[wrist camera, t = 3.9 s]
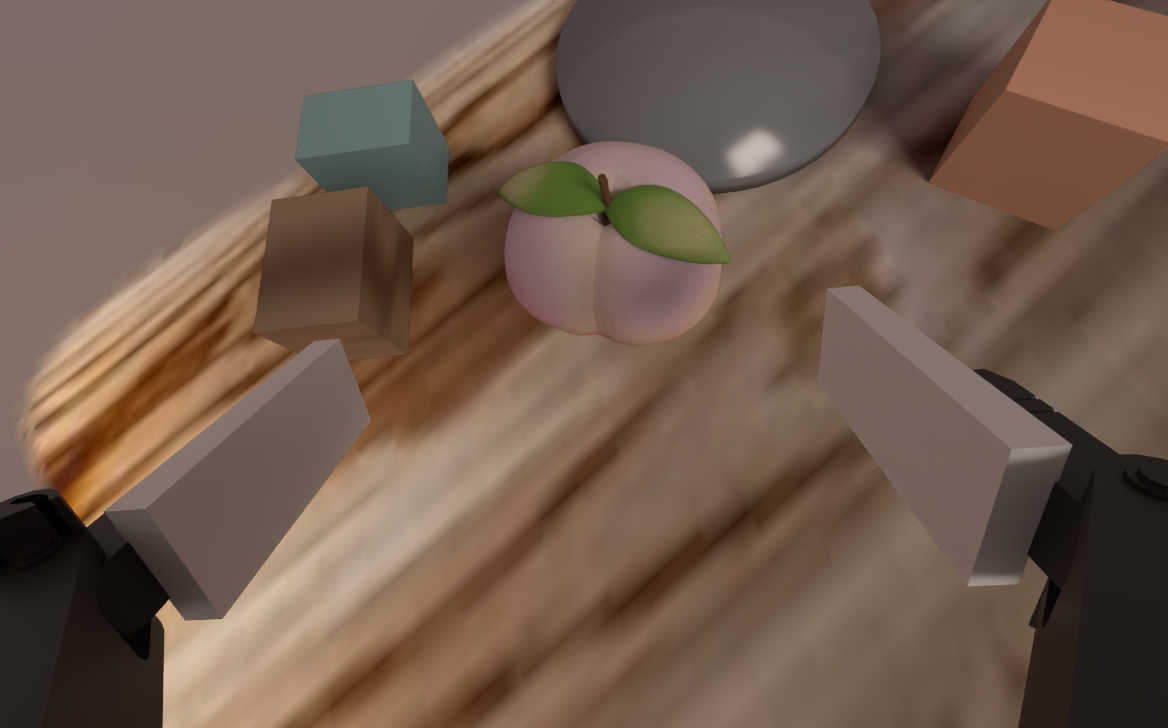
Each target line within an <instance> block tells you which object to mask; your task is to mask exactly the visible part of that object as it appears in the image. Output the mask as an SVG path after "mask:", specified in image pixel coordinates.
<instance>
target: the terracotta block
mask: <svg viewBox="0 0 1168 728" xmlns="http://www.w3.org/2000/svg"><path fill="white" fill-rule="evenodd" d="M1166 150H1168V16H1166V15H1162V14H1158V13H1155V12H1151V11H1147V10H1143V9H1140V8H1136V7H1132V6H1128V5H1125V4H1121V3H1117V2H1113V1H1110V0H1048V1H1047V2H1046V4H1045V5H1044V6H1043V8H1042V9H1041V10H1040V12H1039V13H1038V14H1037V15H1036V17H1035V18H1034V19H1033V21H1032V22H1031V23H1030V25H1029V26H1028V27H1027V28H1026V30H1025V31H1024V32H1023V34H1022V35H1021V36H1020V37H1019V39H1018V40H1017V41H1016V43H1015V44H1014V45H1013V47H1012V48H1011V49H1010V50H1009V52H1008V53H1007V54H1006V56H1005V57H1004V58H1003V60H1002V61H1001V62H1000V63H999V65H998V66H997V67H996V69H995V70H994V71H993V72H992V74H991V75H990V76H989V78H988V79H987V80H986V82H985V83H984V84H983V85H982V87H981V88H980V89H979V91H978V92H977V93H976V95H975V96H974V97H973V99H972V101H971V103H970V105H969V107H968V108H967V110H966V112H965V114H964V116H963V118H962V120H961V122H960V124H959V125H958V127H957V129H956V131H955V133H954V135H953V137H952V139H951V140H950V142H949V144H948V146H947V148H946V150H945V152H944V154H943V156H942V157H941V159H940V161H939V163H938V165H937V167H936V169H935V171H934V172H933V174H932V176H931V178H930V180H929V182H928V183H931V184H933V185H936V186H939V187H941V188H944V189H947V190H949V191H952V192H954V193H957V194H960V195H962V196H965V197H968V198H970V199H973V200H975V201H978V202H981V203H983V204H986V205H989V206H991V207H994V208H996V209H999V210H1002V211H1004V212H1007V213H1010V214H1012V215H1015V216H1017V217H1020V218H1023V219H1025V220H1028V221H1031V222H1033V223H1036V224H1038V225H1041V226H1044V227H1046V228H1049V229H1052V230H1055V229H1056V228H1058V227H1059V226H1061V225H1062V224H1064V223H1065V222H1066V221H1068V220H1069V219H1071V218H1072V217H1073V216H1075V215H1076V214H1078V213H1079V212H1080V211H1082V210H1083V209H1085V208H1086V207H1087V206H1089V205H1090V204H1092V203H1093V202H1095V201H1096V200H1097V199H1099V198H1100V197H1102V196H1103V195H1104V194H1106V193H1107V192H1109V191H1110V190H1111V189H1113V188H1114V187H1116V186H1117V185H1118V184H1120V183H1121V182H1123V181H1124V180H1126V179H1127V178H1128V177H1130V176H1131V175H1133V174H1134V173H1135V172H1137V171H1138V170H1140V169H1141V168H1142V167H1144V166H1145V165H1147V164H1148V163H1149V162H1151V161H1152V160H1154V159H1155V158H1157V157H1158V156H1159V155H1161V154H1162V153H1164V152H1165V151H1166Z"/></svg>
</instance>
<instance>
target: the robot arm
mask: <svg viewBox="0 0 1168 728" xmlns="http://www.w3.org/2000/svg"><path fill="white" fill-rule="evenodd" d="M818 384H819V385H820V386H821V388H822V389H823V390H824V392H825V393H826V394H827V396H828V397H829V399H830V400H831V401H832V403H833V404H834V405H835V407H836V408H837V409H838V411H839V412H840V413H841V415H842V416H843V418H844V419H845V420H846V422H847V423H848V424H849V426H850V427H851V428H852V430H853V431H854V433H855V434H856V435H857V437H858V438H859V439H860V441H861V442H862V443H863V445H864V446H865V448H866V449H867V450H868V452H869V453H870V454H871V456H872V457H873V458H874V460H875V461H876V463H877V464H878V465H879V467H880V468H881V469H882V471H883V472H884V473H885V475H886V476H887V477H888V479H889V480H890V482H891V483H892V484H893V486H894V487H895V488H896V490H897V491H898V492H899V494H900V495H901V497H902V498H903V499H904V501H905V502H906V503H907V505H908V506H909V507H910V509H911V510H912V512H913V513H914V514H915V516H916V517H917V518H918V520H919V521H920V522H921V524H922V525H923V527H924V528H925V529H926V531H927V532H928V533H929V535H930V536H931V537H932V539H933V540H934V541H935V543H936V544H937V546H938V547H939V548H940V550H941V551H942V552H943V554H944V555H945V556H946V558H947V559H948V561H949V562H950V563H951V565H952V566H953V567H954V569H955V570H956V571H957V573H958V574H959V576H960V577H961V578H962V580H963V581H964V582H965V584H966V585H967V586H985V585H1008V584H1019V581H1020V579H1021V576H1022V574H1023V571H1024V568H1025V566H1026V563H1027V561H1028V558H1029V556H1030V558H1031V559H1032V560H1033V561H1034V562H1035V563H1036V564H1037V565H1038V566H1039V567H1040V568H1041V570H1042V571H1043V572H1044V573H1045V574H1046V575H1047V576H1048V580H1047V582H1046V584H1045V587H1044V589H1043V591H1042V594H1041V596H1040V599H1039V601H1038V603H1037V606H1036V608H1035V610H1034V613H1033V615H1032V617H1031V620H1030V622H1029V624H1028V625H1029V626H1031V627H1034V628H1036V630H1035V635H1034V641H1033V647H1032V652H1031V658H1030V664H1029V670H1028V675H1027V681H1026V687H1025V692H1024V698H1023V704H1022V710H1021V715H1020V721H1019V727H1018V728H1168V460H1165V459H1161V458H1155V457H1149V456H1143V455H1137V454H1131V455H1120V454H1118V453H1117V452H1115V451H1114V450H1112V449H1111V448H1109V447H1108V446H1107V445H1105V444H1104V443H1102V442H1101V441H1099V440H1098V439H1097V438H1095V437H1094V436H1092V435H1091V434H1089V433H1088V432H1086V431H1085V430H1084V429H1082V428H1081V427H1079V426H1078V425H1076V424H1075V423H1074V422H1072V421H1071V420H1069V419H1068V418H1066V417H1065V416H1063V415H1062V414H1061V413H1059V412H1054V409H1053V408H1052V407H1051V406H1049V405H1048V404H1046V403H1045V402H1043V401H1042V400H1040V399H1036V398H1035V395H1033V394H1032V393H1030V392H1029V391H1027V390H1026V389H1025V388H1023V387H1022V386H1020V385H1019V384H1017V383H1016V382H1015V381H1013V380H1010V379H1008V378H1005V377H1003V376H1000V375H998V374H995V373H993V372H990V371H988V370H985V369H977V370H971V369H970V368H969V367H967V366H966V365H965V364H963V363H962V362H961V361H959V360H958V359H957V358H955V357H954V356H952V355H951V354H950V353H948V352H947V351H946V350H944V349H943V348H942V347H940V346H939V345H938V344H936V343H935V342H934V341H932V340H931V339H930V338H928V337H927V336H926V335H924V334H923V333H922V332H920V331H919V330H918V329H916V328H915V327H914V326H912V325H911V324H910V323H908V322H907V321H906V320H904V319H903V318H902V317H900V316H899V315H897V314H896V313H895V312H893V311H892V310H891V309H889V308H888V307H887V306H885V305H884V304H883V303H881V302H880V301H879V300H877V299H876V298H875V297H873V296H872V295H871V294H869V293H868V292H867V291H865V290H864V289H863V288H861V287H860V286H849V287H839V288H830V289H827V295H826V305H825V315H824V325H823V336H822V346H821V356H820V366H819V377H818ZM370 421H371V418H370V416H369V413H368V411H367V408H366V406H365V403H364V400H363V398H362V395H361V393H360V390H359V387H358V385H357V382H356V380H355V377H354V374H353V372H352V369H351V367H350V364H349V361H348V359H347V356H346V354H345V351H344V348H343V346H342V343H341V341H340V339H330V340H320V341H314V342H312V343H311V344H310V345H309V346H307V347H306V348H305V349H304V350H303V351H301V352H300V353H299V354H298V355H296V356H295V357H294V358H293V359H291V360H290V361H289V362H288V363H286V364H285V365H284V366H283V367H282V368H280V369H279V370H278V371H277V372H275V373H274V374H273V375H272V376H270V377H269V378H268V379H267V380H265V381H264V382H263V383H262V384H261V385H259V386H258V387H257V388H256V389H254V390H253V391H252V392H251V393H249V394H248V395H247V396H246V397H245V398H243V399H242V400H241V401H240V402H238V403H237V404H236V405H235V406H233V407H232V408H231V409H230V410H228V411H227V412H226V413H225V414H224V415H222V416H221V417H220V418H219V419H217V420H216V421H215V422H214V423H212V424H211V425H210V426H209V427H207V428H206V429H205V430H204V431H203V432H201V433H200V434H199V435H198V436H196V437H195V438H194V439H193V440H191V441H190V442H189V443H188V444H186V445H185V446H184V447H183V448H182V449H180V450H179V451H178V452H177V453H175V454H174V455H173V456H172V457H170V458H169V459H168V460H167V461H165V462H164V463H163V464H162V465H161V466H159V467H158V468H157V469H156V470H154V471H153V472H152V473H151V474H149V475H148V476H147V477H146V478H145V479H143V480H142V481H141V482H140V483H138V484H137V485H136V486H135V487H133V488H132V489H131V490H130V491H128V492H127V493H126V494H125V495H124V496H122V497H121V498H120V499H119V500H117V501H116V502H115V503H114V504H112V505H111V506H110V507H109V508H107V509H106V510H105V511H104V514H103V515H101V516H100V517H99V518H98V519H97V520H95V521H94V522H93V523H92V524H90V525H89V526H88V527H87V528H86V526H85V525H84V524H83V523H82V521H81V520H80V519H79V517H78V516H77V515H76V514H75V512H74V511H73V510H72V509H71V507H70V506H69V505H68V503H67V502H66V501H65V500H64V498H63V497H62V496H61V495H60V493H59V492H58V491H57V490H53V489H42V490H35V491H31V492H28V493H25V494H22V495H18V496H15V497H13V498H10V499H8V500H6V501H3V502H1V503H0V728H162V723H163V672H164V628H163V625H162V623H161V622H160V620H159V619H158V618H157V617H156V615H155V614H156V613H157V612H158V611H159V610H160V609H161V608H162V606H163V605H164V604H165V603H166V602H167V601H168V600H169V599H170V601H171V602H172V603H173V605H174V606H175V607H176V609H177V610H178V611H179V613H180V614H181V615H182V617H183V618H184V619H185V620H207V619H223V617H224V616H225V615H226V613H227V612H228V611H229V609H230V608H231V607H232V605H233V604H234V603H235V601H236V600H237V599H238V597H239V596H240V595H241V593H242V592H243V591H244V589H245V588H246V587H247V585H248V584H249V583H250V581H251V580H252V579H253V577H254V576H255V575H256V573H257V572H258V571H259V569H260V568H261V567H262V565H263V564H264V563H265V561H266V560H267V559H268V557H269V556H270V555H271V553H272V552H273V551H274V549H275V548H276V547H277V545H278V544H279V543H280V541H281V540H282V539H283V537H284V536H285V535H286V533H287V532H288V531H289V529H290V528H291V527H292V525H293V524H294V523H295V521H296V520H297V519H298V517H299V516H300V515H301V513H302V512H303V511H304V509H305V508H306V507H307V505H308V504H309V503H310V501H311V500H312V499H313V497H314V496H315V495H316V493H317V492H318V491H319V489H320V488H321V487H322V485H323V484H324V483H325V481H326V480H327V479H328V477H329V476H330V475H331V473H332V472H333V471H334V469H335V468H336V467H337V465H338V464H339V463H340V461H341V460H342V459H343V457H344V456H345V455H346V453H347V452H348V451H349V449H350V448H351V447H352V445H353V444H354V443H355V441H356V440H357V439H358V437H359V436H360V435H361V433H362V432H363V431H364V429H365V428H366V427H367V425H368V424H369V423H370Z"/></svg>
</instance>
